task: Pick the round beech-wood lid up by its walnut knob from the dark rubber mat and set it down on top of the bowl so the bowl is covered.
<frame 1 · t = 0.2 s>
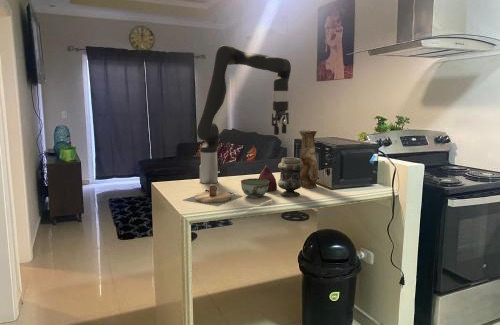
hand: (280, 134, 188), 29 cm above the table, fingers open, 8 cm apart
lid: (212, 198, 178), point 1 cm above the table, touching mat
vegetable: (266, 190, 197), on the table
mat: (212, 199, 178), on the table
bowl: (255, 198, 181), on the table
vase: (307, 186, 204), on the table
apothecary jar: (289, 195, 186), on the table
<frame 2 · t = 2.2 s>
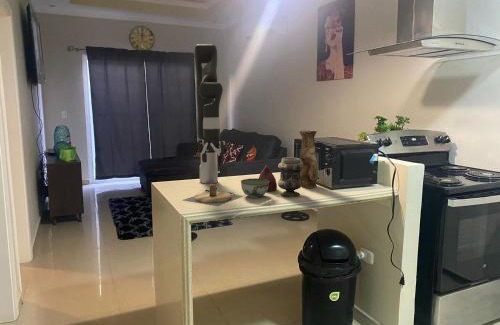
hand: (212, 163, 175), 17 cm above the table, fingers open, 8 cm apart
nothing on the table moved.
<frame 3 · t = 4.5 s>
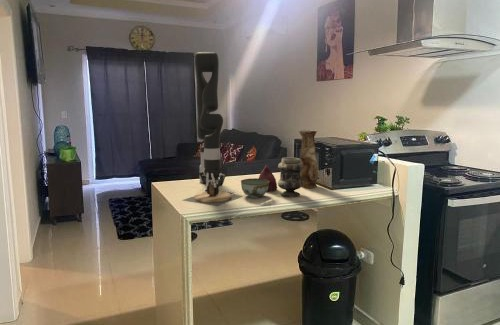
hand: (212, 194, 178), 2 cm above the table, fingers closed on lid, 3 cm apart
lid: (212, 198, 178), point 1 cm above the table, touching gripper, mat
everything else where it was.
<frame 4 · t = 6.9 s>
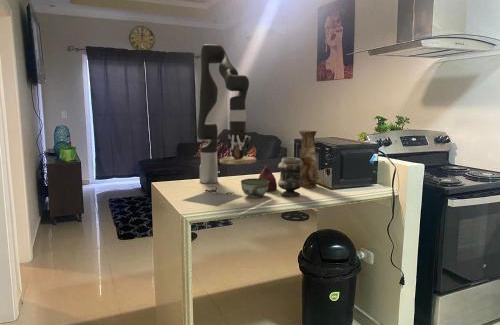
hand: (238, 157, 176), 19 cm above the table, fingers closed on lid, 3 cm apart
lid: (237, 161, 177), point 18 cm above the table, touching gripper
everything else where it was.
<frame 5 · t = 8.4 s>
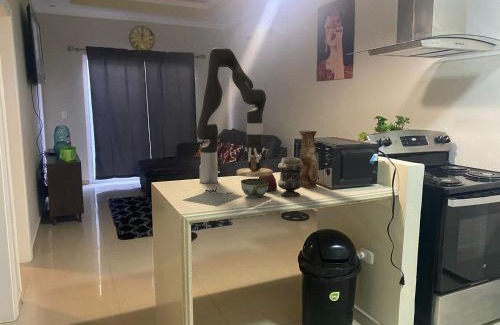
hand: (254, 169, 179), 13 cm above the table, fingers closed on lid, 3 cm apart
lid: (254, 173, 179), point 12 cm above the table, touching gripper
everything else where it was.
when the fingers open (11 cm above the table, at t = 9.5 s): lid drops 1 cm, resting on bowl.
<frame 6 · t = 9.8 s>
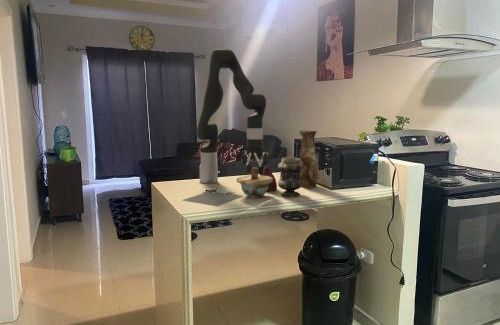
hand: (254, 173, 179), 11 cm above the table, fingers open, 5 cm apart
lid: (254, 181, 180), point 8 cm above the table, touching bowl
bowl: (254, 198, 181), on the table, touching lid
everything else where it was.
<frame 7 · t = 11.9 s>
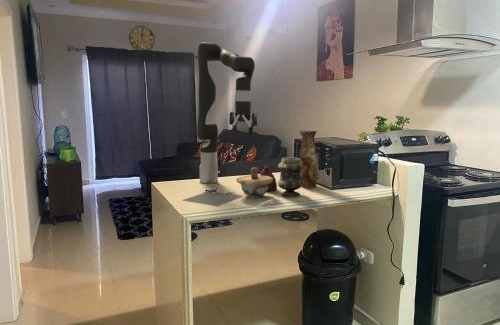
hand: (242, 134, 185), 29 cm above the table, fingers open, 8 cm apart
nothing on the table moved.
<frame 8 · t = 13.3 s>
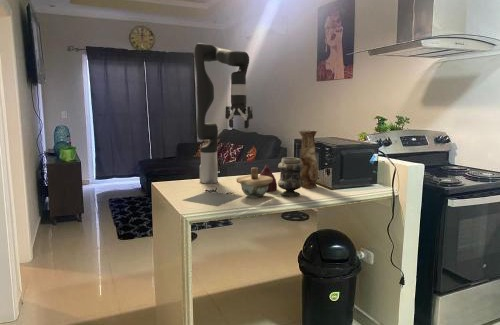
hand: (238, 128, 187), 32 cm above the table, fingers open, 8 cm apart
nothing on the table moved.
at the end: lid inside the target area in the bowl (0.1 cm from its centre), point 8.2 cm above the bowl's base; lid point 7.9 cm above the table; lid tilted 0° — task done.
